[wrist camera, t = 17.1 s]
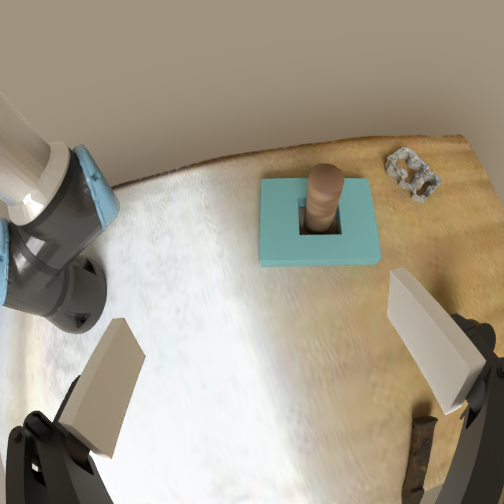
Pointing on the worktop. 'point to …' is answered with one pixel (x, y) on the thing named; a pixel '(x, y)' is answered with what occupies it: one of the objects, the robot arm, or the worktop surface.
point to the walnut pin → (322, 198)
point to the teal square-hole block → (316, 246)
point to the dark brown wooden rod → (418, 459)
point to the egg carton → (418, 178)
